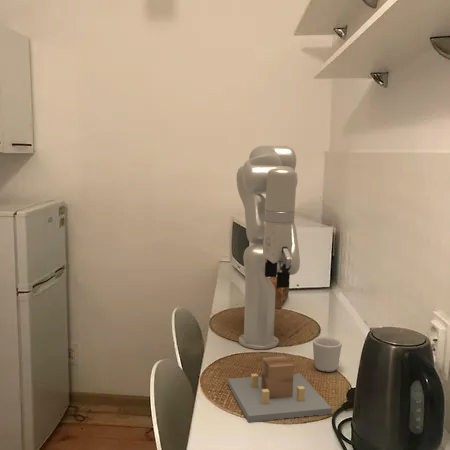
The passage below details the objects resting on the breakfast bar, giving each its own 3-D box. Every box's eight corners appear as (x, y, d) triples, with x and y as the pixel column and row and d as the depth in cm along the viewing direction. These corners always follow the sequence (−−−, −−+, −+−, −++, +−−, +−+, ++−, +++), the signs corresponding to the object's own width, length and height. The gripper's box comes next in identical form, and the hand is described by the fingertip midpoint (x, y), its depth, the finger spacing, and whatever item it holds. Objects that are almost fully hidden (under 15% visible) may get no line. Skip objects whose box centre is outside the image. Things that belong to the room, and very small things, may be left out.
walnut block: (261, 388, 133) (262, 357, 132) (283, 386, 134) (285, 356, 133) (268, 399, 127) (270, 367, 126) (292, 397, 128) (293, 365, 127)
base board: (227, 384, 138) (228, 367, 137) (299, 378, 143) (300, 362, 142) (248, 422, 119) (249, 403, 118) (331, 414, 123) (332, 396, 123)
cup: (325, 358, 158) (326, 332, 157) (349, 365, 153) (351, 338, 152) (306, 368, 149) (307, 341, 148) (331, 376, 144) (333, 348, 143)
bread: (281, 310, 205) (282, 285, 204) (254, 307, 208) (255, 282, 207) (289, 298, 223) (290, 274, 222) (264, 295, 226) (265, 272, 225)
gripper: (255, 212, 143) (253, 273, 146) (276, 223, 126) (273, 292, 129) (282, 211, 145) (279, 272, 148) (306, 222, 128) (302, 291, 131)
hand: (276, 281), depth 139 cm, fingers open, 9 cm apart
